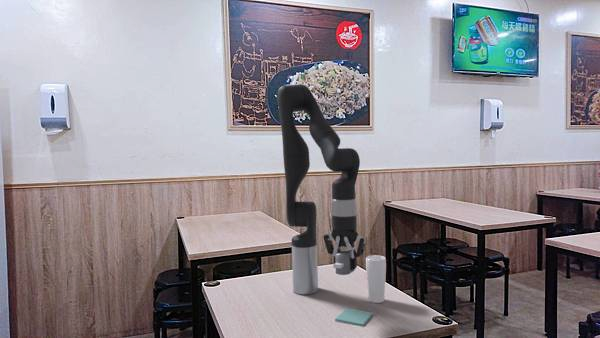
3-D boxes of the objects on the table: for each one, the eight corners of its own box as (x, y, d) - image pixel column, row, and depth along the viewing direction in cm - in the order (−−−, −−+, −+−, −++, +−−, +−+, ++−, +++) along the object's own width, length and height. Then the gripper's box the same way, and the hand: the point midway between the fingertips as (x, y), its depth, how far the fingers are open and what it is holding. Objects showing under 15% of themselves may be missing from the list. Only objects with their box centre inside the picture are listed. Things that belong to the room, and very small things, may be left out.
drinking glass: (390, 300, 141) (389, 257, 140) (379, 306, 136) (378, 261, 135) (373, 295, 146) (372, 253, 145) (362, 301, 141) (361, 258, 140)
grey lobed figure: (343, 267, 131) (343, 248, 131) (356, 269, 129) (356, 250, 128) (330, 275, 123) (330, 255, 123) (344, 277, 121) (343, 257, 120)
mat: (346, 309, 134) (346, 308, 134) (372, 314, 130) (372, 312, 130) (335, 320, 126) (335, 318, 126) (363, 326, 122) (363, 324, 122)
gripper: (370, 213, 125) (371, 268, 126) (328, 210, 133) (330, 263, 133) (361, 216, 119) (362, 275, 120) (317, 214, 126) (319, 269, 127)
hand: (345, 268), depth 127 cm, fingers closed on grey lobed figure, 4 cm apart
